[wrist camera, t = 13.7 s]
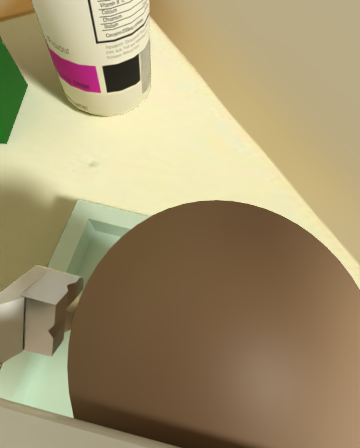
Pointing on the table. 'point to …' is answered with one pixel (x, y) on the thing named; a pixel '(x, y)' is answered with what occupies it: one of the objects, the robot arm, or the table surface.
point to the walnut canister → (219, 334)
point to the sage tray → (81, 266)
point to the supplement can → (99, 51)
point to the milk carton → (9, 92)
